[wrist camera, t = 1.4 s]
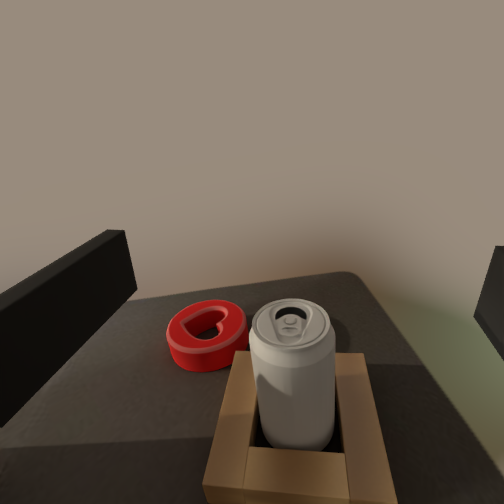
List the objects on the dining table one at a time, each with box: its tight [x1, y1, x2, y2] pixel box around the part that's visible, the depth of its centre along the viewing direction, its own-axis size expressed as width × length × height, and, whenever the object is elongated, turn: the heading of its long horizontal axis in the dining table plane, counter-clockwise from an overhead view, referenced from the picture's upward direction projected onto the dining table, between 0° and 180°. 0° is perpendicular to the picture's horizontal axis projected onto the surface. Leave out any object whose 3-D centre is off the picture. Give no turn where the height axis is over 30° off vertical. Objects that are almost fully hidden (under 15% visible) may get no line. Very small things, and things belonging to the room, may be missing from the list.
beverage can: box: [249, 299, 335, 452], centre depth 26 cm, size 6×6×12 cm
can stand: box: [202, 351, 398, 504], centre depth 28 cm, size 13×13×2 cm
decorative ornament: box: [166, 300, 249, 372], centre depth 39 cm, size 10×10×3 cm
